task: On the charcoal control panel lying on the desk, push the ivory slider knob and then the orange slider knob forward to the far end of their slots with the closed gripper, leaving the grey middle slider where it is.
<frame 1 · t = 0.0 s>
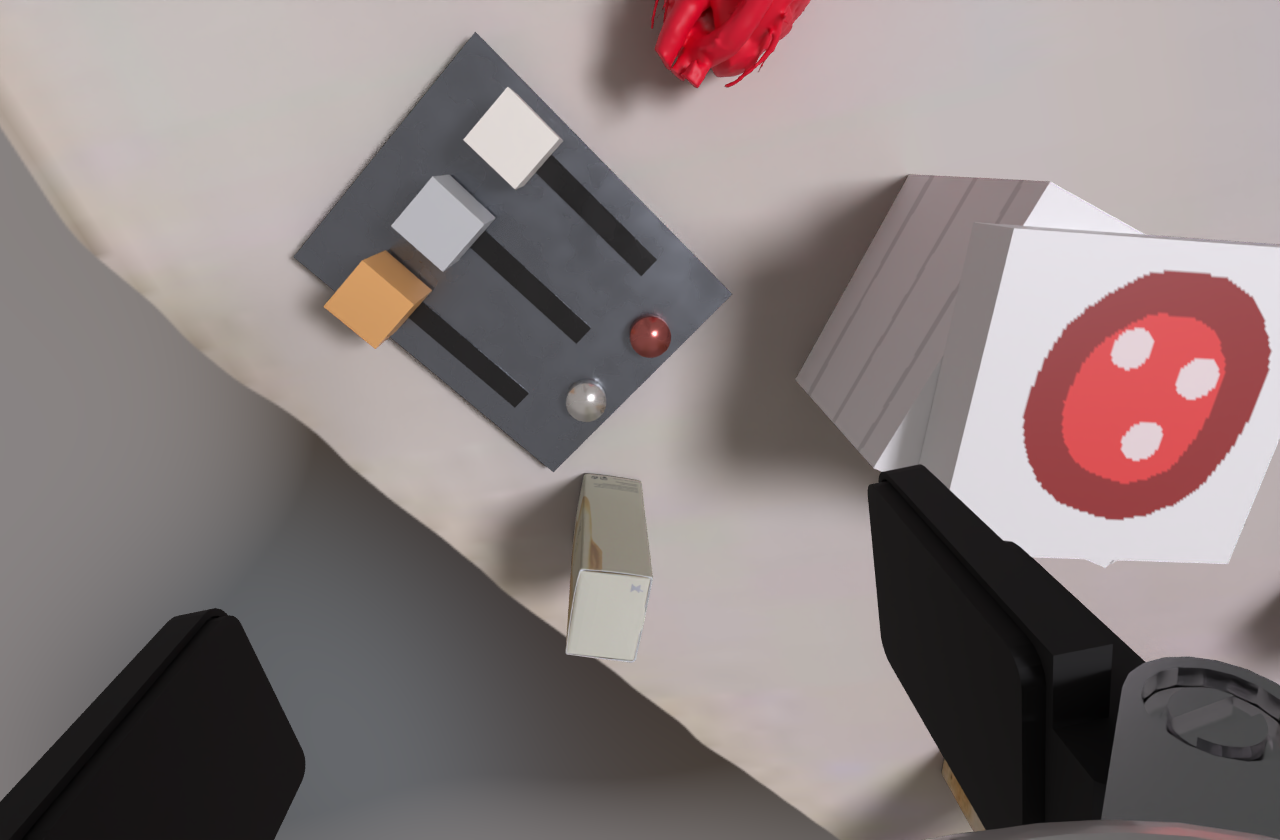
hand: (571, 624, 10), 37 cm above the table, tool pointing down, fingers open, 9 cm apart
orange slider: (380, 298, 41), point 4 cm above the table, slide at 0.0 cm
grey slider: (446, 221, 40), point 4 cm above the table, slide at 0.0 cm
pizza boxes: (1006, 354, 49), on the table
ivory slider: (516, 140, 38), point 4 cm above the table, slide at 0.0 cm
parchment: (1066, 726, 61), on the table
skincare box 2: (606, 513, 52), on the table
panel: (521, 272, 45), on the table
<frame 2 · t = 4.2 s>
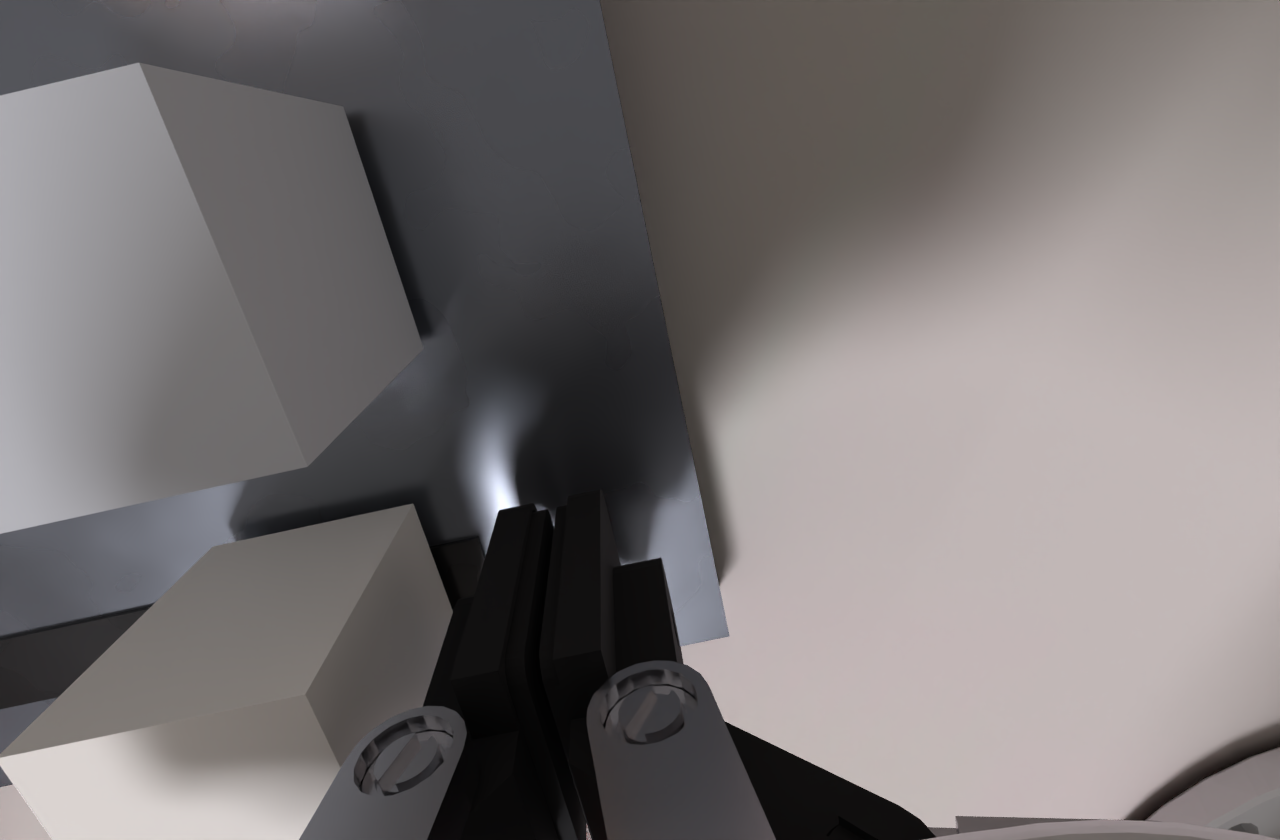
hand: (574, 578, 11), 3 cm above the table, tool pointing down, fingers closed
grey slider: (184, 286, 8), point 4 cm above the table, slide at 0.0 cm
ivory slider: (296, 702, 10), point 4 cm above the table, slide at 1.0 cm, touching gripper
panel: (43, 309, 12), on the table
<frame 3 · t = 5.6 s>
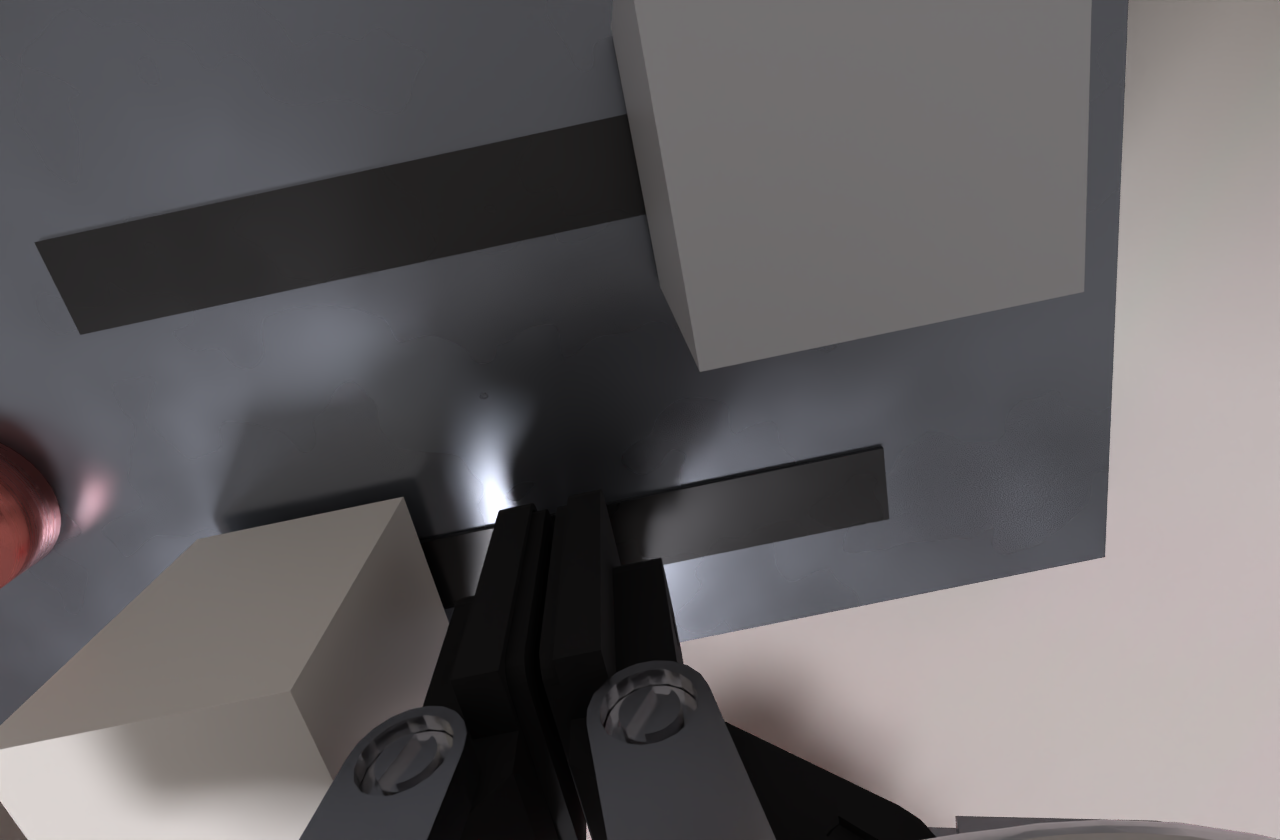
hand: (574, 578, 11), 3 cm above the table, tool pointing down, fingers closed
grey slider: (801, 134, 8), point 4 cm above the table, slide at 0.0 cm
ivory slider: (282, 698, 10), point 4 cm above the table, slide at 8.3 cm, touching gripper
panel: (442, 205, 12), on the table
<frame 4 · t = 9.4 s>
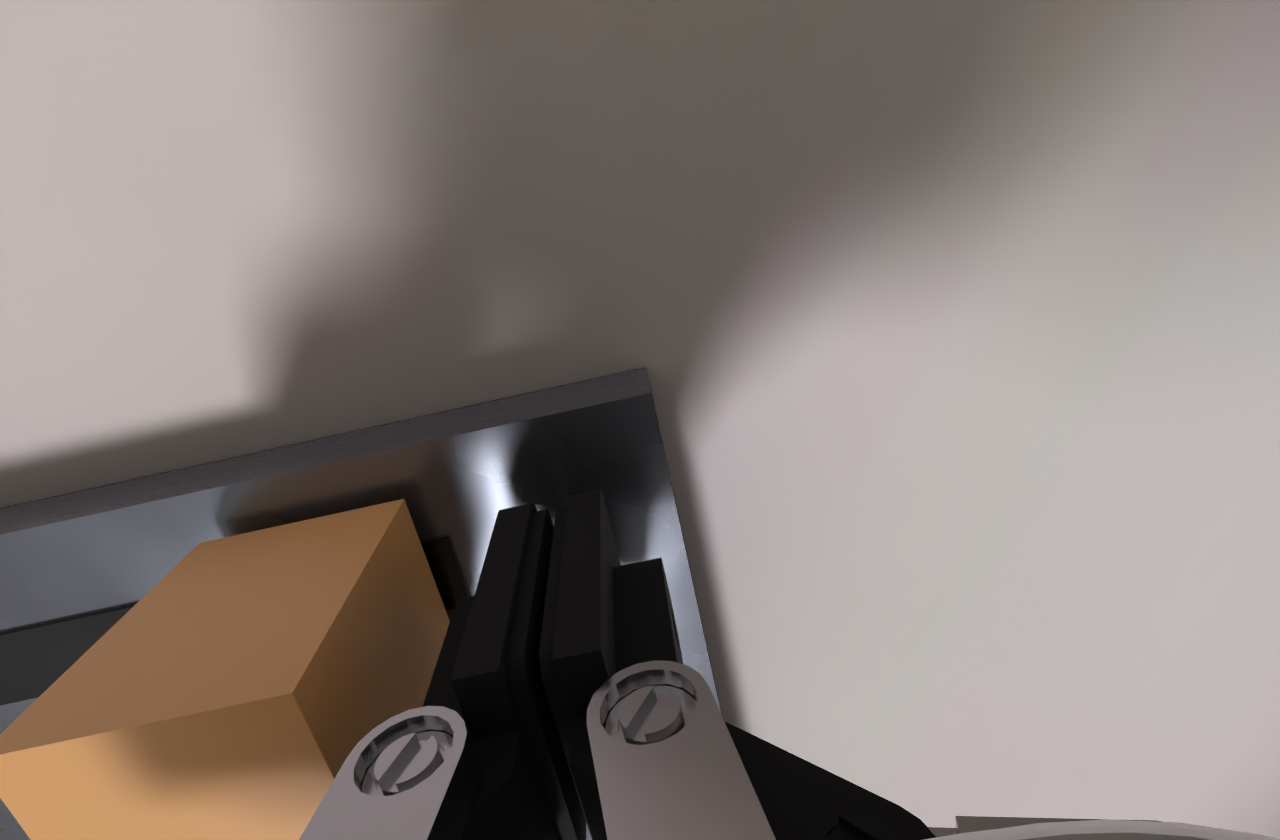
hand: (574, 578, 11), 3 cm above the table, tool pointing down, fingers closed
orange slider: (285, 701, 10), point 4 cm above the table, slide at 0.6 cm, touching gripper
panel: (276, 810, 16), on the table
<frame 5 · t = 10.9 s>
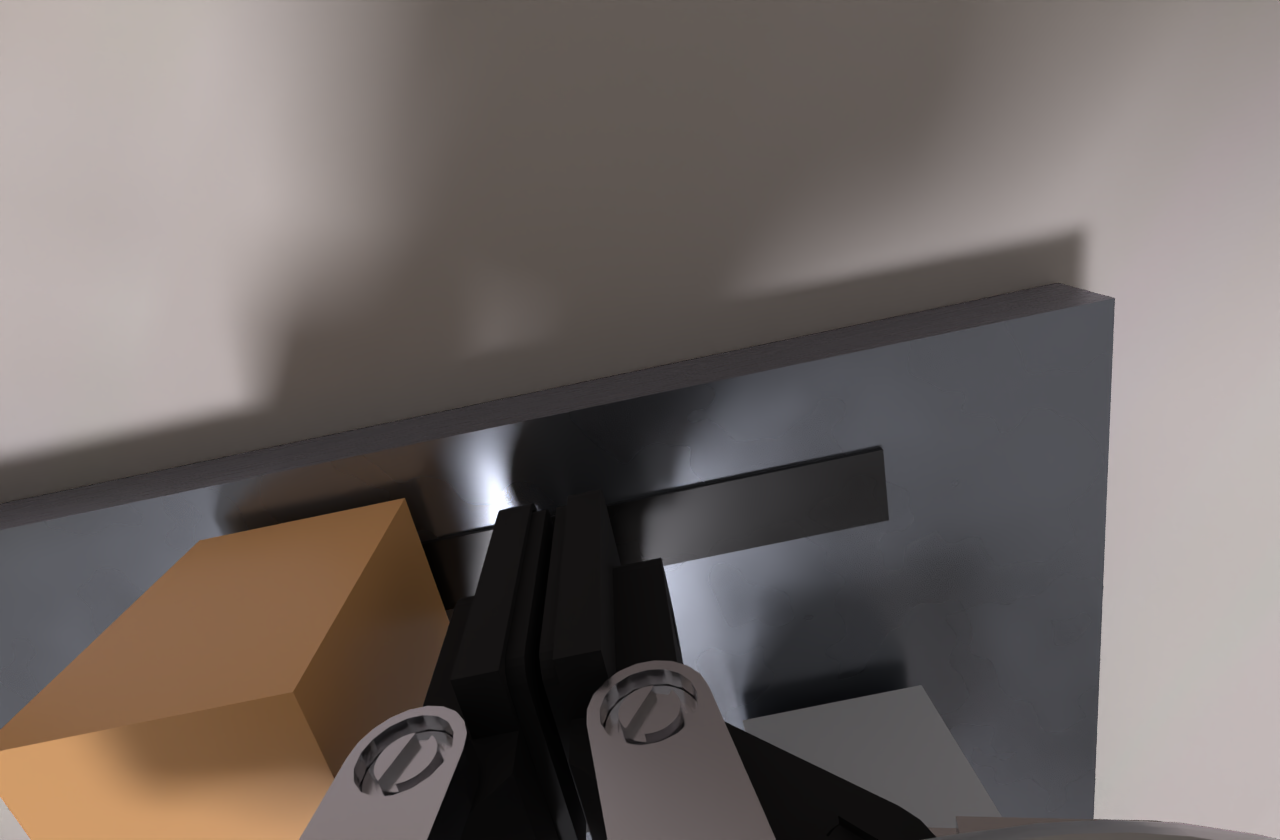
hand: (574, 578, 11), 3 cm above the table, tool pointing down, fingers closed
orange slider: (284, 699, 10), point 4 cm above the table, slide at 8.3 cm, touching gripper
panel: (598, 744, 16), on the table
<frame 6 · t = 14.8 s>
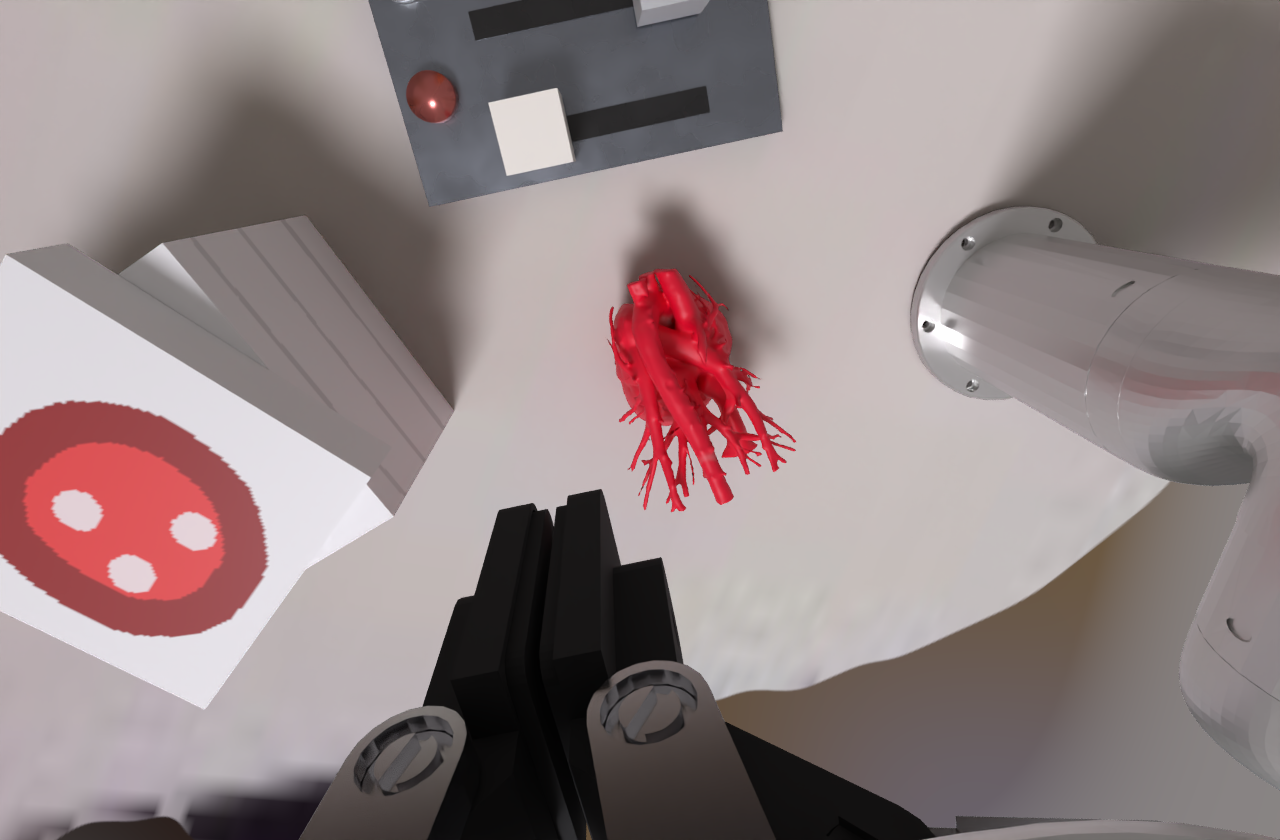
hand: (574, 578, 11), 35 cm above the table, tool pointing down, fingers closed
pizza boxes: (232, 421, 47), on the table
ivory slider: (535, 134, 38), point 4 cm above the table, slide at 8.3 cm
heart organ: (671, 342, 46), on the table
panel: (572, 10, 39), on the table
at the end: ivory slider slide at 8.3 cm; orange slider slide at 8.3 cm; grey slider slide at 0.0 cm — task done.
